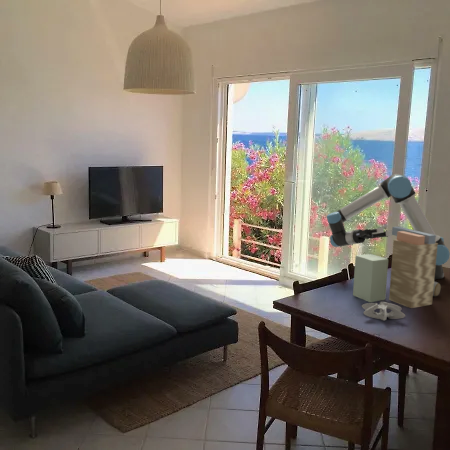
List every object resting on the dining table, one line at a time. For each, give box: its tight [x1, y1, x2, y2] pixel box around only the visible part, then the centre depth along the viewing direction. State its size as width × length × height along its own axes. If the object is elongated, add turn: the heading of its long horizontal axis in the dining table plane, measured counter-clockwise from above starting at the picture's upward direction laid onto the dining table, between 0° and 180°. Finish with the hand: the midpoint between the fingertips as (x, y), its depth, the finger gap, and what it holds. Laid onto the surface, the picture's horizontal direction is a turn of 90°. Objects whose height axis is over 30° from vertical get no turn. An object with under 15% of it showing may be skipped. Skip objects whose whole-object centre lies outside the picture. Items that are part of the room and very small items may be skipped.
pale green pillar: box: [352, 253, 389, 303], centre depth 259 cm, size 12×10×20 cm
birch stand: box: [388, 239, 438, 309], centre depth 253 cm, size 14×14×30 cm
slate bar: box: [391, 226, 437, 244], centre depth 256 cm, size 24×4×4 cm, turn 26°
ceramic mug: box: [433, 281, 442, 297], centre depth 268 cm, size 11×8×8 cm
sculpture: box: [361, 301, 406, 321], centre depth 233 cm, size 18×20×6 cm
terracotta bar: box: [396, 231, 425, 245], centre depth 248 cm, size 13×4×4 cm, turn 28°
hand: (390, 230), depth 275 cm, fingers open, 13 cm apart
